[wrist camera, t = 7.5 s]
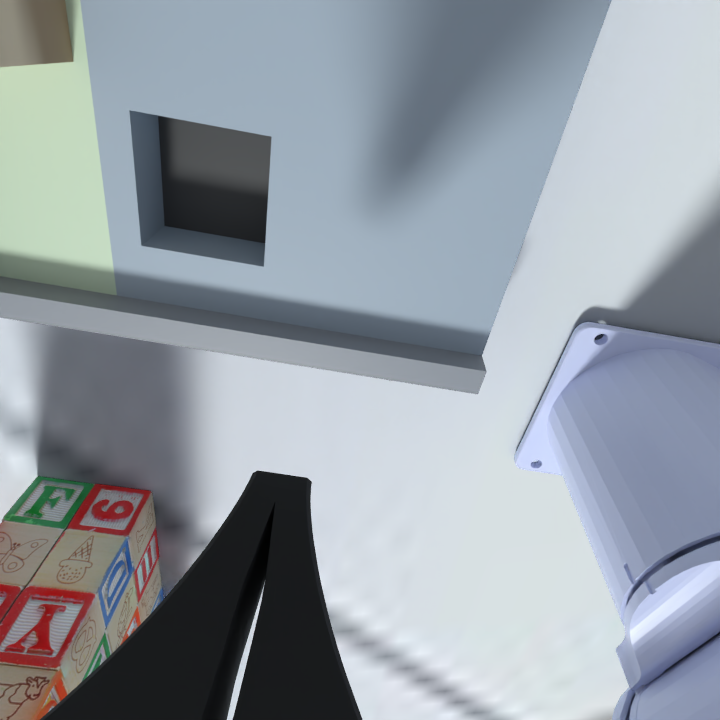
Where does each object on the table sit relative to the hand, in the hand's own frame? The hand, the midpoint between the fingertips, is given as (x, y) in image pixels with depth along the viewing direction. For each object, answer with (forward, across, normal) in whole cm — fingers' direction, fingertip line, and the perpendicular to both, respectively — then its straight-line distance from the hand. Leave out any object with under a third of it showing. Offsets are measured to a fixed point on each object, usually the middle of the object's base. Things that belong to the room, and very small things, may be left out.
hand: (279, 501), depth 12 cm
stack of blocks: (+10, +11, +23) cm, 27 cm away
